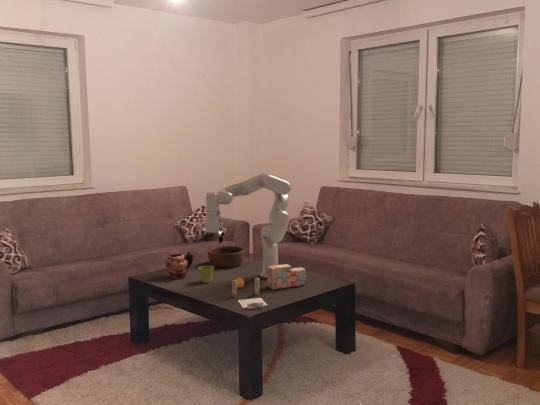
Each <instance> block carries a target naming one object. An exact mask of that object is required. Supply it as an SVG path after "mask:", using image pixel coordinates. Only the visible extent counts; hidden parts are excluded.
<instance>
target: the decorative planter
mask: <svg viewBox="0 0 540 405" xmlns="http://www.w3.org/2000/svg"><path fill="white" fill-rule="evenodd" d="M187 263H188V261H187V260H185V258H184V254H183V253H173V254H168V255H167V259H166V260H165V267H166V269H167V271H168V274H169V277H170V278H172V279H182V278H185V277H187V276H186V275H187V272H186V271H187V270H186V267H187Z"/></svg>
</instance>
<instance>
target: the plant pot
mask: <svg viewBox="0 0 540 405" xmlns="http://www.w3.org/2000/svg"><path fill="white" fill-rule="evenodd" d="M214 268H215V267H214V266H212V265H202V266H199V267H198V272H199V275H200V280H201V281H200V282H202V283H203V284H204V283H205V284H208V283H212V281H213V272H214Z"/></svg>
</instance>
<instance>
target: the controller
mask: <svg viewBox="0 0 540 405" xmlns="http://www.w3.org/2000/svg"><path fill="white" fill-rule="evenodd" d="M183 255H184V254H183ZM184 258H185V260H186V262H187V267H186V268H187V269H188V268H189V267H191V265H193V262H194V255H193V254H191V251H187V254H186V255H184ZM186 268H185V269H186Z"/></svg>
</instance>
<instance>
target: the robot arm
mask: <svg viewBox="0 0 540 405" xmlns="http://www.w3.org/2000/svg"><path fill="white" fill-rule="evenodd" d="M262 189H267V190H269V191H271V192H272V193H273V194H274V201H273V204H272V207H271V210H270V212H269V216H268V220H269V222H270V223H271V224H272V225H271V224H270V225H269V224H267V225H265V226H263V227H262V229H261V232H260V238H261V245H262V246H261V248H262V253H261V254H262V272H261V273H260V277H261V278H263V279H264V278H265V279H268V266H276V265H279V245H278V244H279V243H280V242H281V241H283V239H284V237H285V234H286V231H287V229H288V227H289V224H290V215H289V213H288V212H287V208H288V206H289V194H290V192H291V190H292V187H291V184H290V183H289V182H288V181H287V180H284V179H281V178H279V177H276V176H274V175H272V174H269V173H259V174H258V175H255V176H252V177H251V178H248V179H246V180H244V181H240V182H238V183H235V184H232V185H229V186H227V187H224V188H221V189H220V190H218V191H212V192H211V191H208V192H207V193H206V194H205V203H206V206H205V207H206V208H205V209H206V211H205V212H206V215H205V219H204V225H203V226H201V227H200V229H201V232H202V233H203V235H204V241H205V242H209V241H210V234H209V233H212V234H218V244H222V243H223V242H224V235H225V234H226V232H227V228H226V227H224V226H223V219H222V215H221V213H222V211H220V205H230V204H231V203H232V202H233V201H234V198H236V197H243V196H244V197H245V196H249V195H251V194H254V193H256V192H258V191H260V190H262Z"/></svg>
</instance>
